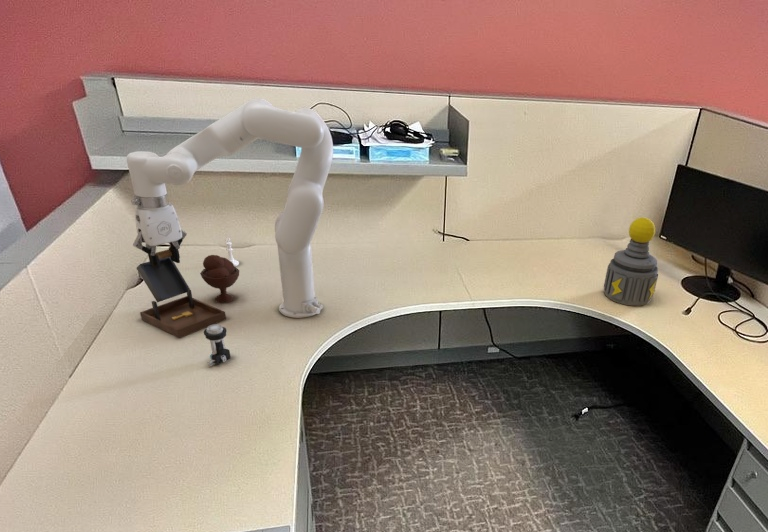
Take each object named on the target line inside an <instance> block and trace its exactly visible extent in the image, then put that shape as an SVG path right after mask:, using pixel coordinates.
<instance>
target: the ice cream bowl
mask: <svg viewBox="0 0 768 532" xmlns="http://www.w3.org/2000/svg"><path fill="white" fill-rule="evenodd" d="M228 259H229V258H227V257H223V256H220V255H218V254H210V255H207V256H205V257H204V260H203V261H202V266H203V269H202V270H201V272H199V274H200V276H201V278H202V279H203V281H204V282H205V283H206V284H207V285H209V287H212V288H214V289H218V290H219V292H220V294H218V295H217V296H216V297H214V298H215V299H214V301H215V302H216V303H221V304H226V303H227V304H228V303H231V302H233V301H234V299H235V296H233V295H232V294H230V293H228V292H227V289H228V288H230V287H233V285H234V284H235V283H236V282H237V280H238V279H239V276H240V269H238V267H237V266H234V264H233V263H232V262H231V261H229V260H228Z"/></svg>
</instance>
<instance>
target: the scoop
mask: <svg viewBox="0 0 768 532" xmlns="http://www.w3.org/2000/svg"><path fill="white" fill-rule="evenodd" d="M156 255H158V257H159V262H160V266H161V268H159V269H157V268H155V267H153V266H152V265H151V264H150V261H146V262H142V263H140V264H138V265H137V266H136V270H137V272H138V273H139V274H140V275H139V276H140V277H141V279H142V280H143V282H144V284H145V286H147V288H148V290H149V291H150V293H151V295H152V297H153V298H154V300H155V301H156V302H157V303H160V302H162V301H166V300H169V299H172V298H174V297H178V296H181V295H184V294H187V291H189V290H191V288H190V287H189V285H188V283H187V281H186V280H185V278H184V276H183V275H182V273H181V272H180V270H179V268H178V266H177V265H176V262H174V261H171V258H170V256H172V252H171V251H170V250H169V248H168V249H164V250H161V251H157V252H156Z"/></svg>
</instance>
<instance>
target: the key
mask: <svg viewBox="0 0 768 532" xmlns="http://www.w3.org/2000/svg"><path fill="white" fill-rule="evenodd" d="M192 314H193V313H191V312H189V311H187V312H184V313H181V315H180V316H177V317H176V316H174V317H172V320H175V319H178V318H181V317H183V316H185V317H187V316H190V315H192Z"/></svg>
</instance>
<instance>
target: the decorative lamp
mask: <svg viewBox="0 0 768 532" xmlns="http://www.w3.org/2000/svg"><path fill="white" fill-rule="evenodd" d="M655 234H656V226H655V224H654V222H653V221H652V220H651V219H650V218H648V217H644V216H643V217H638V218H636V219H634V220H633V221H632V222H631V224H630V225H629V229H628V235H629V237H630V239H629V242H628V244H627V245H626V248H625V249H622V250H618V251H615V253H614V255H613V258H612V259H610V262H609V263H608V265H607V269H606V273H605V279H604V283H603V290H604V291H603V293H604V295H605V296H606V297H607V298H608V299H609V300H610V301H613V302H615V303H617V304H621V305H625V306H629V307H630V306H633V307H639V306H644V305H647V304H649V303H650V302H651V300H652V299H653V297H654V294H655V292H656V286H657V282H658V278H659V273H658V272H659V268H658V259H657V258H656V257H655V256H653V255H651V254H650V252H649V251H650V247H649V245H650V241H652V240H653V238H654V237H655Z"/></svg>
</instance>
